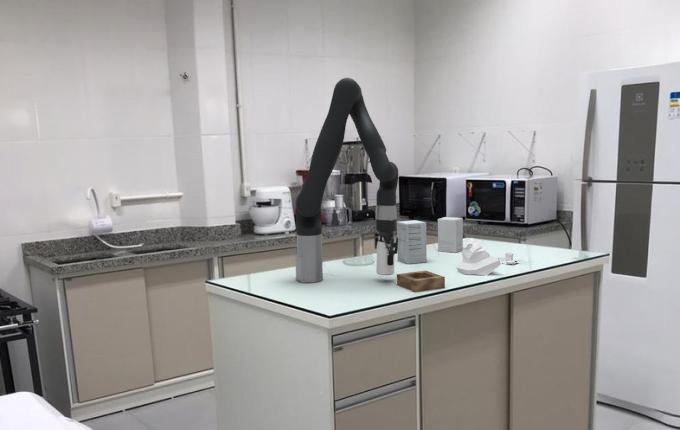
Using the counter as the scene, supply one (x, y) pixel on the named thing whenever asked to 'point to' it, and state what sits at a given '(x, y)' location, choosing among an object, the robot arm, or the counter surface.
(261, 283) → the counter surface
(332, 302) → the counter surface
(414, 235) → the supplement box
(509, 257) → the teacup and saucer
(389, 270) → the can
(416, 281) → the brown open box
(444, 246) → the supplement box
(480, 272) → the white faceted sculpture
